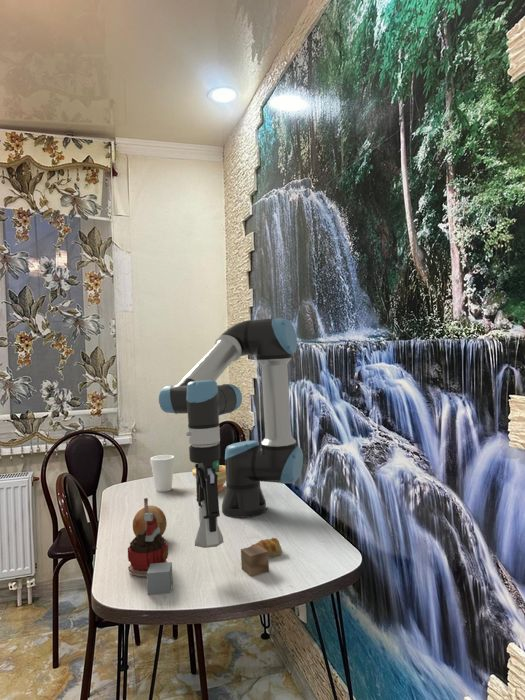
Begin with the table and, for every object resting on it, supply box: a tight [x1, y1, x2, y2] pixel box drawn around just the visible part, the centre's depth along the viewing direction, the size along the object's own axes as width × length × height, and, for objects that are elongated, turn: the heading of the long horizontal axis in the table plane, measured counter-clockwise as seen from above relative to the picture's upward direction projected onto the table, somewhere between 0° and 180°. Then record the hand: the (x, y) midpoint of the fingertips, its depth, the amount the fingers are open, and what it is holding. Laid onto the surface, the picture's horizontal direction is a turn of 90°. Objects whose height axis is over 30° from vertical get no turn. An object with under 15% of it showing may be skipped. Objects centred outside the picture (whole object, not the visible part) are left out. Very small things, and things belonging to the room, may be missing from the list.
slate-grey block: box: [146, 561, 174, 596], centre depth 110 cm, size 5×5×5 cm
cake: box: [127, 497, 169, 577], centre depth 120 cm, size 11×9×18 cm
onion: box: [132, 505, 168, 537], centre depth 140 cm, size 10×10×10 cm
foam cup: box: [150, 454, 175, 493], centre depth 194 cm, size 10×9×13 cm
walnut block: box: [240, 545, 270, 578], centre depth 117 cm, size 5×5×5 cm
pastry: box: [249, 537, 283, 559], centre depth 127 cm, size 9×7×4 cm
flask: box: [194, 500, 224, 549], centre depth 116 cm, size 7×7×10 cm
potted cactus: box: [192, 440, 226, 492], centre depth 192 cm, size 15×15×25 cm
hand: (208, 538), depth 116 cm, fingers closed on flask, 7 cm apart
